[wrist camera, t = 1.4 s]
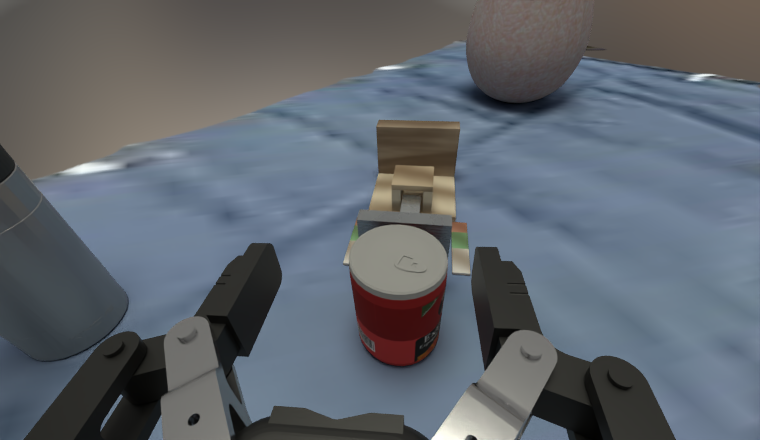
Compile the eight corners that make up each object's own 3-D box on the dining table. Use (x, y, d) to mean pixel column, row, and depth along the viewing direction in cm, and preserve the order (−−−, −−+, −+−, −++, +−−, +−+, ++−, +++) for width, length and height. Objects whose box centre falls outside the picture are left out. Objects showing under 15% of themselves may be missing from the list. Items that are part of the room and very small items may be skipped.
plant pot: (443, 88, 86) (455, -66, 66) (524, 76, 91) (557, -71, 71) (495, 126, 68) (533, -69, 49) (592, 108, 73) (662, -76, 54)
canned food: (433, 377, 30) (443, 303, 23) (348, 358, 32) (333, 284, 25) (442, 307, 36) (453, 230, 28) (370, 293, 37) (362, 218, 30)
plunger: (444, 282, 36) (452, 226, 31) (362, 275, 37) (356, 219, 32) (444, 211, 45) (450, 158, 40) (379, 207, 47) (376, 155, 41)
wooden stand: (470, 275, 39) (482, 215, 33) (343, 264, 41) (333, 206, 35) (462, 174, 55) (469, 121, 49) (372, 170, 57) (369, 119, 51)
